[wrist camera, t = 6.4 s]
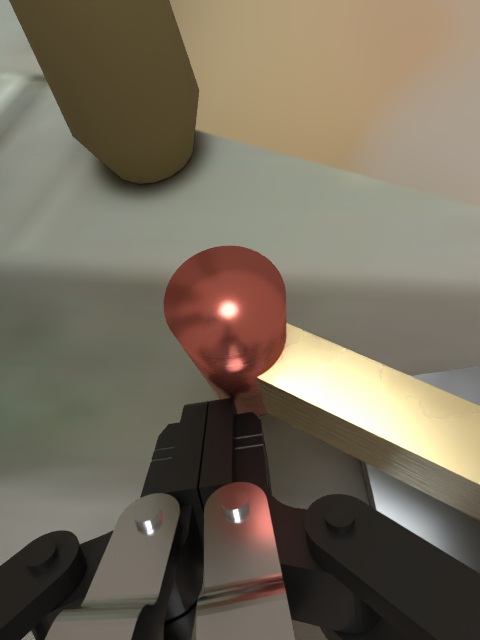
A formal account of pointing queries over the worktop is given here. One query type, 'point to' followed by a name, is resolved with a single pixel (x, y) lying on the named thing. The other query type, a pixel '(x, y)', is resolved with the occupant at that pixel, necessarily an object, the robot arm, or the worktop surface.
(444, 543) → the stand
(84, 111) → the squeeze bottle
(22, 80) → the worktop surface
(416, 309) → the worktop surface
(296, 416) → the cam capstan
